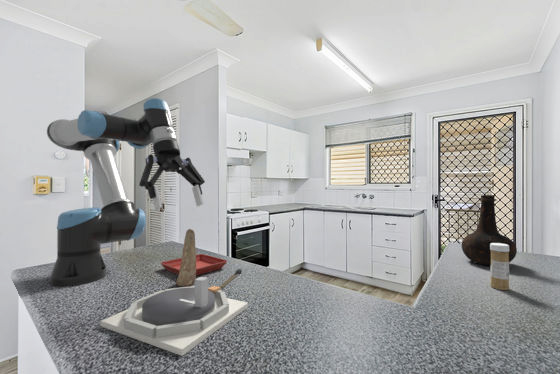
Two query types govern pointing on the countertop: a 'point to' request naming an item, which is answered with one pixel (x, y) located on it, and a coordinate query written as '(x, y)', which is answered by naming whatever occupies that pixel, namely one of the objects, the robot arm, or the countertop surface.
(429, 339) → the countertop surface
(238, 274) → the tomahawk
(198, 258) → the plant saucer
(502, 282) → the sprinkles bottle
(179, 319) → the dial
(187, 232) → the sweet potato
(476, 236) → the dark brown vase
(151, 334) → the panel
